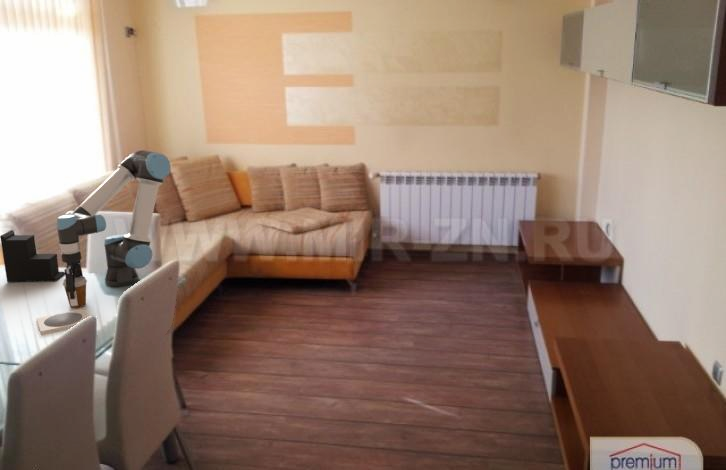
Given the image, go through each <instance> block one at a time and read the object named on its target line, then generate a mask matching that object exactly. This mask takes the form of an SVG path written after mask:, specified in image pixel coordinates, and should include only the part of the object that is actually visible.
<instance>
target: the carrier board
mask: <svg viewBox="0 0 726 470" xmlns="http://www.w3.org/2000/svg"><path fill="white" fill-rule="evenodd" d="M87 317H89V315H88V313H87V312H86V310H85V308H82V309H77V310H76V309H75V310H71V311H67V312H66V311H65V312H62V313H56V314H52V315H46V316H41V317H36V318H35V319H36V323H37V326H38V329H39V331H40V335H48V334H53V333H56V332H61V331H66V330H70V329H69V328H71V327H73V326H74V325H76V324H77V323H78V322H80V321H81V320H83V319H85V318H87Z"/></svg>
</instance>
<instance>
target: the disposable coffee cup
mask: <svg viewBox="0 0 726 470" xmlns="http://www.w3.org/2000/svg"><path fill="white" fill-rule="evenodd" d="M87 282H88V280H87V279H86V277H85V276H84V275H83V276H80V277H77V278H75V291H76V294H77V302H78V306H71V304H70V297H69V292H66V278H65V279H63V282H62V286H63V287H64V290H65V293H66V298H67V301H68V304H69V307H70V308H72V309H79V308H83V307H85V306H86V305H87Z"/></svg>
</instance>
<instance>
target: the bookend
mask: <svg viewBox="0 0 726 470" xmlns="http://www.w3.org/2000/svg"><path fill="white" fill-rule="evenodd" d="M0 243H1V250H2V257H3V258H2V259H3V264H4V270H5V277H6V282H8V283H11V282H12V283H13V282H15V283H16V282H18V283H19V282H21V283H22V282H24V283H25V282H28V283H29V282H58V281H59V280H60V279H61V278H63V277H65V271H60V269H59V262H58V253H37V246H36V240H35V235H34V234H18V235H17V234H15V231H14V230H13V229H11V230H9V231H7V232H5V233H3V234H1V235H0Z"/></svg>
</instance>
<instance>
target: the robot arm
mask: <svg viewBox="0 0 726 470" xmlns="http://www.w3.org/2000/svg"><path fill="white" fill-rule="evenodd" d="M171 169H172V168H171V162H170V159H169V158H168V157H167V156H166V155H165V154H162V153H160V152H158V151H148V150H137V151H135V152H133V153H131V154H129V156H127V157H125V159H124V160H123V161H122V162H120V163H119V164H118V166H117V169H116V170H115V171H114V172H113V173H112V174H111V175H110V176H108V178H107V179H106V180H105V181H104V182H103V183H102V184H100V185H99V186H98V188H96V189H95V190H94V191H93V192H92V193H91V194H90V195H89V196H88V197H87V198H86V199H84V200H83V202H82V203H80V204H79V205H78V206H77V207H76V208H75V209H73V210H68V211H66V212H65V214H64V215H61V216H58V217H57V218H56V230H57V235H58V240H59V244H58V247H59V248H60V256H61V261H62V263H65V264H66V268H64V271H63V272H64V273H65V275H64V277H65V279H66V291H65V293H66V292H69V297H70V304H71V306H78V302H77V294H76V291H75V278H77V277H80V276H83V277H84V275H83V269H82V263H81V260H82V252H81V244H80V237H82V236H86V235H87V236H88V235H93V234H97V233H102V232H104V231H105V230H106V229H107V221H106V219H105V216H103V215H102V214H98V212H99V211H101V210H102V209H103V208H104V207H105V206H106V205H107V204H108V203H109V202H110V201H112V199H113V198H114V197H115V196H116V195H117V194H118V193H119V192H120V191H122V189H124V188H125V187H126V186H127V185H128V183H130V182H132V181H135V180H137V181H138V187H137V192H136V197H135V199H134V206H133V210H132V215H131V219H130V220H131V221H130V224H129V225H130V226H129V230H128V233H122V234H114V235H110V236H107V237H105V238H104V241H103V242H104V249H105V261H106V267H107V269H106V272H105V273H106V274H105V278H104V283H105V285H106V286H108V287H115V288H118V287H126V286H131V285H134V284H136V283H138V282H139V281H140V280H139V279H140V278H139V277H140V276H139V273H138V272H137V269H143V268H145V267H146V266H148V265H149V264H150V263H151V261H152V259H153V250H152V249H151V248H152V247H150V245H151V239H150V238H149V234H150V229H151V225H152V219H153V214H154V210H155V205H156V200H157V195H158V191H159V187H160V186H161V185H163V183H164V179H166V178H167V177H168V176H169V175H170V173H171ZM70 304H69V305H70Z"/></svg>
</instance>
